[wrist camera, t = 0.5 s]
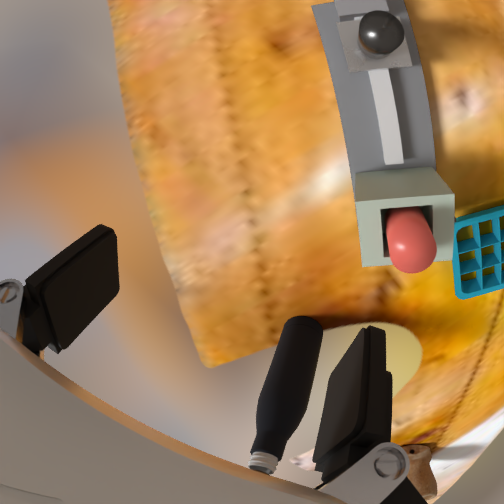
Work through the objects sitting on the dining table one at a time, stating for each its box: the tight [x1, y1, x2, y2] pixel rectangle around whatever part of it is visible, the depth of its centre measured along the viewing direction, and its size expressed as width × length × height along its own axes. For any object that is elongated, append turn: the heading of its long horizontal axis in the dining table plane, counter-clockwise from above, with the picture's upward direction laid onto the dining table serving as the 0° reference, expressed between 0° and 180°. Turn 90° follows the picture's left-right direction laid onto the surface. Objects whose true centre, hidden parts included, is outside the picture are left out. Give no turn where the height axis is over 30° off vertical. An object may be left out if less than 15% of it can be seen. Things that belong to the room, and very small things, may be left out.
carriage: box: [336, 10, 412, 73], centre depth 20 cm, size 6×5×11 cm
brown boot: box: [402, 445, 437, 501], centre depth 54 cm, size 15×12×15 cm
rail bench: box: [311, 0, 456, 267], centre depth 25 cm, size 10×26×10 cm, turn 15°
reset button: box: [385, 206, 437, 273], centre depth 25 cm, size 4×4×6 cm
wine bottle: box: [248, 316, 323, 475], centre depth 36 cm, size 6×6×30 cm
